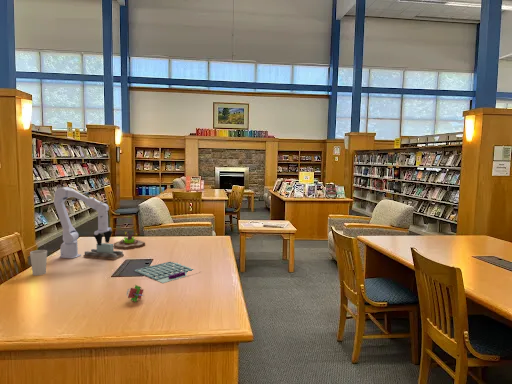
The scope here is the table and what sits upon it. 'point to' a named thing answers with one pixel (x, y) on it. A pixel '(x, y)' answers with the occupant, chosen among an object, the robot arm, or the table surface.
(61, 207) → the robot arm
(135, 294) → the geometric puzzle
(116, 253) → the door track
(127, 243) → the plant
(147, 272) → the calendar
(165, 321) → the table surface
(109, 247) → the door panel
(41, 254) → the cup
